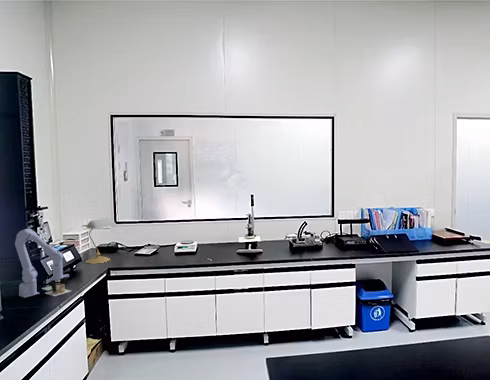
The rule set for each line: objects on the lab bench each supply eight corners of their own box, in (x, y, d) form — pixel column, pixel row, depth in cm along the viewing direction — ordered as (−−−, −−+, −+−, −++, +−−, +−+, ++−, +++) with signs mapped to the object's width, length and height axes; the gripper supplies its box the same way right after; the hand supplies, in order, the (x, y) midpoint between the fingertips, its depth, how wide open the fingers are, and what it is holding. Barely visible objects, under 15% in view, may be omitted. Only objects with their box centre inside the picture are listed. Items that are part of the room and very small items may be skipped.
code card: (54, 296, 222) (54, 296, 222) (44, 293, 228) (44, 293, 228) (71, 291, 232) (71, 291, 232) (61, 288, 238) (61, 288, 238)
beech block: (57, 293, 226) (57, 286, 226) (51, 292, 230) (51, 284, 230) (64, 291, 230) (64, 284, 230) (59, 290, 234) (58, 282, 234)
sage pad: (48, 290, 233) (48, 290, 233) (41, 289, 237) (41, 288, 237) (59, 287, 240) (59, 287, 240) (53, 285, 244) (53, 285, 244)
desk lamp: (94, 266, 300) (93, 221, 299) (75, 263, 308) (74, 220, 307) (119, 258, 328) (118, 217, 327) (101, 256, 337) (100, 216, 336)
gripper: (50, 273, 221) (50, 294, 222) (71, 268, 234) (71, 288, 234) (44, 272, 225) (44, 292, 225) (65, 267, 237) (65, 286, 238)
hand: (58, 290), depth 230 cm, fingers closed on beech block, 5 cm apart
